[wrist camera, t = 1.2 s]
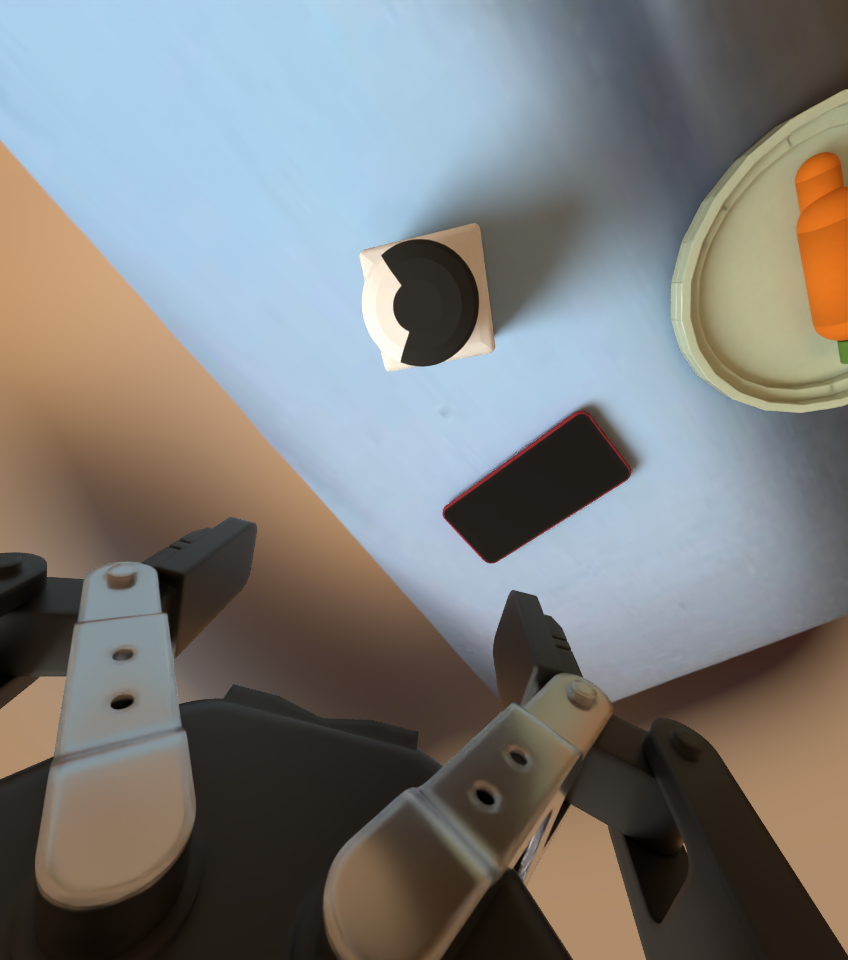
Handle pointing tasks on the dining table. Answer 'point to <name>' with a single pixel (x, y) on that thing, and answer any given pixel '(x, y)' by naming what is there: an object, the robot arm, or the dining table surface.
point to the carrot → (825, 245)
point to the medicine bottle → (428, 298)
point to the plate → (760, 275)
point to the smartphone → (538, 488)
